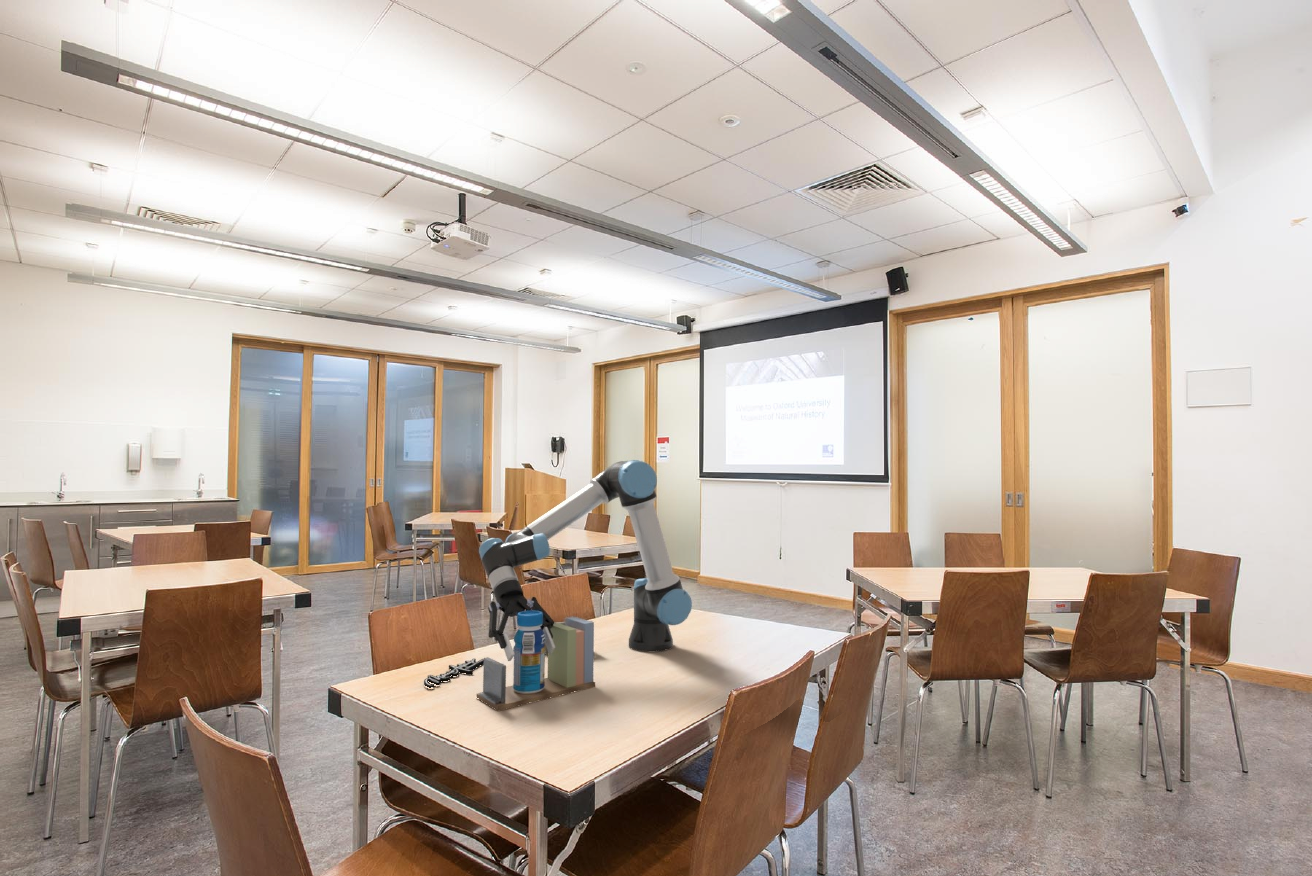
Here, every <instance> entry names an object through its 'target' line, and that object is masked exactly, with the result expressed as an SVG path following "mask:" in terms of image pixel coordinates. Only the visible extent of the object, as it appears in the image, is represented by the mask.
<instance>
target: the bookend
mask: <svg viewBox="0 0 1312 876" xmlns="http://www.w3.org/2000/svg"><path fill="white" fill-rule="evenodd" d="M483 659H484V664H483V676H482V677H483V679H482V680H483V681H482V683H483V684H482V693H481V692H478V693H479V695H480V696H482V697H483V698H485V699H487V700H488V701H490V702H492V703H494V704H499V703H500V704H502V703H505V697H506V687H507V685H506V684H507V665H505V664H504V663H500V662H499V661H497V660H495V659H493V658H490V657H489V656H487V657H483Z"/></svg>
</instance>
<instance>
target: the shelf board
mask: <svg viewBox="0 0 1312 876" xmlns="http://www.w3.org/2000/svg"><path fill="white" fill-rule="evenodd" d="M544 682H545V686H544V689H543V690H542V691H540V692H537V693H533V694H520V693H517V692H515V691H514V690H513V685H510V686H506V697H505V703H502V704H500V703H499V704H494V703H492V702H490V701H488V700H487V699H485V698H483V697H482V696H480V695H479V693H482V692H483V691H482V692H477V693H476V697H477V698H479V699H480V700H482V701H483V702H485V703H487V704H488V705H490V706H491V707H490V706H489V707H490V708H492V707H493V708H492V709H494V708H495V709H496V710H495V709H494V710H495V711H497V710H500V711H504V710H507V709H506V708H508V709H511V707H512V708H516V707H519V706H518V705H520V706H524V705H528V704H530V703H529V702H532V703H536V702H539V701H538V700H540V701H544V700H548V699H551V698H550V697H552V698H556V697H560V696H559V695H561V696H563V695H562V694H565V695H568V693H569V694H572V693H571V692H573V693H575V692H574V691H577V692H580V691H584V690H588V689H589V690H590V689H592V688H595V687H596V682H595V681H593V682H589V683H585V684H580V685H576V686H572V687H568V688H566V687H564V686H562V685H560V684H558V683H555V682H553V681H551V680H549V679H548V677H544ZM477 698H476V699H477ZM547 698H548V699H547ZM480 700H479V701H480ZM482 701H481V702H482ZM535 701H536V702H535ZM483 702H482V703H483ZM485 703H484V704H485ZM527 703H528V704H527ZM487 704H486V705H487ZM515 706H516V707H515ZM503 709H504V710H503Z"/></svg>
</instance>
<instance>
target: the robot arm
mask: <svg viewBox="0 0 1312 876" xmlns="http://www.w3.org/2000/svg"><path fill="white" fill-rule="evenodd" d="M657 483H658V476H657V473H656V471H655V469H654V468H653V467H652V466H651V464H649V463H647V462H645V461H643V460H638V459H636V460H635V459H631V460H624V461H623V460H620V461H617V462H615V463H612V464H610V466H608V467H607V468H605V469H604V470H602V471H601V472H600V473H598V474H597V475H596V476H595V477H593V478H591V479H590V481H589V484H587V485H586V486H585V487H583V488H582V489H580V490H579V491H577V492H576V493H574V494H573V495H571V496H570V497H569V498H567V499H565V500H564V501H562V502H561V503H560V504H558V505H556V506H555V507H553V508H552V509H551V510H549V511H548V512H546V513H544V514H543V515H541V516H540V517H538V518H537V519H536V520H534V521H533V522H531V523H529V524H528V525H526V527H525V526H524V528H521V529H520V530H519V531H518V532H513V533H511V534H509V535H508V536H507V537H506V539H505V542H504V541H503V540H502V539H501V538H499V537H496V538H495V537H491V538H488V539H486V540H485V541H483V542H482V543H481V544H480V546H479V548H478V553H479V557H480V560H481V564H482V566H483V569H484V570H485V573H486V576H487V579H488V581H489V584H490V586H491V589H492V592H493V595H494V598H495V601H493V600H492V601H491V602H490V604H489V605H488V607H487V609H488V612H489V623H488V635H487V636H488V638H489V639H492V638H494V641H496V642H498V644H499V648H500V649H503V650H504V653H505V657H506V659H507V662H511V661H512V659H514V655H515V654H514V652H513V646H512V644H511V642H510V638H509V636H508V633H507V632H505V631H504V630H505V629H506V625H507V624H508V623H507V622H508V619H509V617H510V618H512V617H517V614H518V613H519V612H522V611H540V612H542V613H543V624H542V626H540V627H541V629H542V630H543V632H544V635H545V641H544V642H545V645H546V647H547V650H548V652H549V654H550V653H552V652H553V650H554V649H555V645H554V643H553V640H552V639H553V634H552V632H551V630H550V629H551V627H552V626H553V624H554V623H555V620H554V619H553V618H552V617H551V616H550V615H549V613H548V612H546V610H545V609H544V608H543V607H542V606H541V605H540V604H539V601H538V599H537V597H536V596H532V597H531V598H530V599H527V598H526V597H525V595H524V591H523V588H522V585H521V583H520V582H519V578H518V575H517V573H516V571H515V569H514V568H517V567H520V566H523V565H527V564H529V563H533V562H537V561H541V560H542V559H544V558H548V557H549V556H550V554H551V547H550V543H549V540H551V539H552V538H553V537H555V536H556V535H558V534H559V533H561V532H562V531H564V530H565V529H566V528H568V527H569V526H571V525H572V524H574V523H575V522H577V521H578V520H580V519H581V518H582V517H584V516H585V515H587V514H588V513H590V512H591V511H593V510H594V509H596V508H597V507H599V506H600V505H601V504H608V503H610V502H612V501H613V500H615V499H617V498H619V502H620V505H621V507H622V508H623V509H625V510H626V511H627V512H628V515H629V518H630V523H631V527H632V529H633V532H634V535H635V536H634V537H635V540H636V544H637V548H638V550H639V554H640V557H641V561H642V564H643V568H644V571H645V576H646V578H645V577H644V578H638V579H637V578H636V580H634V584H633V585H634V586H633V625H632V628H631V632H630V635H629V638H628V647H629V648H630V649H631V648H632V649H631V650H634V651H638V652H647V651H655V652H662V651H668V650H671V649H672V648H674V641H673V640H674V639H673V635H672V632H671V629H670V626H678V625H680V624H682V623H683V622H685V621H686V620H687V619H688V617H689V615H690V614H691V611H692V608H693V601H692V598H691V595H690V594H689V593H688V592H687V591H686V590H685V589H683V585H682V582H681V581H682V580H681V578H680V576H679V575H677V574H676V573H674V570H673V567H672V564H671V560H670V556H669V553H668V550H667V546H666V541H665V539H664V535H663V532H662V531H663V530H662V529H661V525H660V522H659V518H658V515H657V511H656V507H655V501H656V500H657V498H658V497H657V494H656V487H657ZM498 610H500V611H501V612H503V613H502V617H501V620H500V624H499V626H498V628H497V621H498ZM670 648H671V649H670Z"/></svg>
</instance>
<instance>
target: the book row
mask: <svg viewBox="0 0 1312 876" xmlns="http://www.w3.org/2000/svg"><path fill="white" fill-rule="evenodd" d="M591 621H592V620H588V619H584V618H580V617H577V616H567V617H565V618H564V622H565V625H562V624H559V623H556V622H554V624H553V626H552V627H551V629H550V630H551V632H552V634H553V639H552V640H553V643H554V645H555V649H554V650H553V652H552V653H550V654H549V652H548V654H547V678H548V679H549V680H551V681H553V682H555V683H558V684H560V685H562V686H564V687H566V688H568V687H572V686H576V685H580V684H585V683H589V682H594V662H595V661H594V658H595V657H594V655H595V654H594V653H595V652H594V651H595V650H594V646H595V645H594V643H595V642H594V641H595V639H594V638H595V631H594V630H595V623H594V621H592V622H591Z"/></svg>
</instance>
